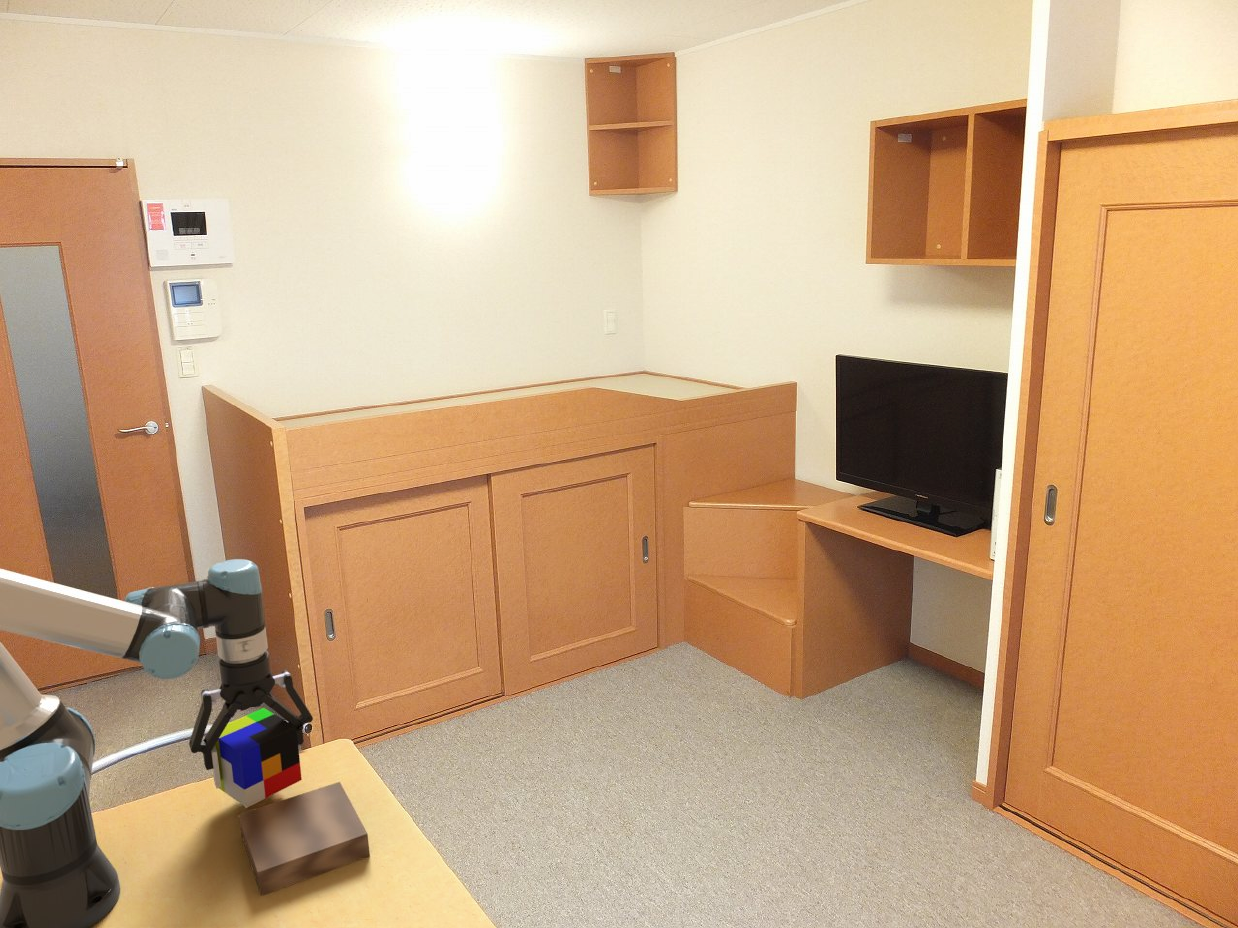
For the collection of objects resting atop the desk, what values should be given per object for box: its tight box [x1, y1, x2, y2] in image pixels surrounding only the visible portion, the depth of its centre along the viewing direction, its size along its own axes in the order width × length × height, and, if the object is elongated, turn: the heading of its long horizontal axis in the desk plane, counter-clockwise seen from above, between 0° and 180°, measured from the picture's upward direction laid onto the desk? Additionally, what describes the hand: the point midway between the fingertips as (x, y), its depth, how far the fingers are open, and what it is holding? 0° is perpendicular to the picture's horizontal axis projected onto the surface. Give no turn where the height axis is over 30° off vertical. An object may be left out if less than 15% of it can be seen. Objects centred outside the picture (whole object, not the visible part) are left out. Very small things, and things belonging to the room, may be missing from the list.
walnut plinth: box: [237, 781, 371, 897], centre depth 145 cm, size 16×16×4 cm
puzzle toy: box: [214, 707, 303, 809], centre depth 154 cm, size 10×10×10 cm
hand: (257, 772), depth 155 cm, fingers closed on puzzle toy, 12 cm apart
